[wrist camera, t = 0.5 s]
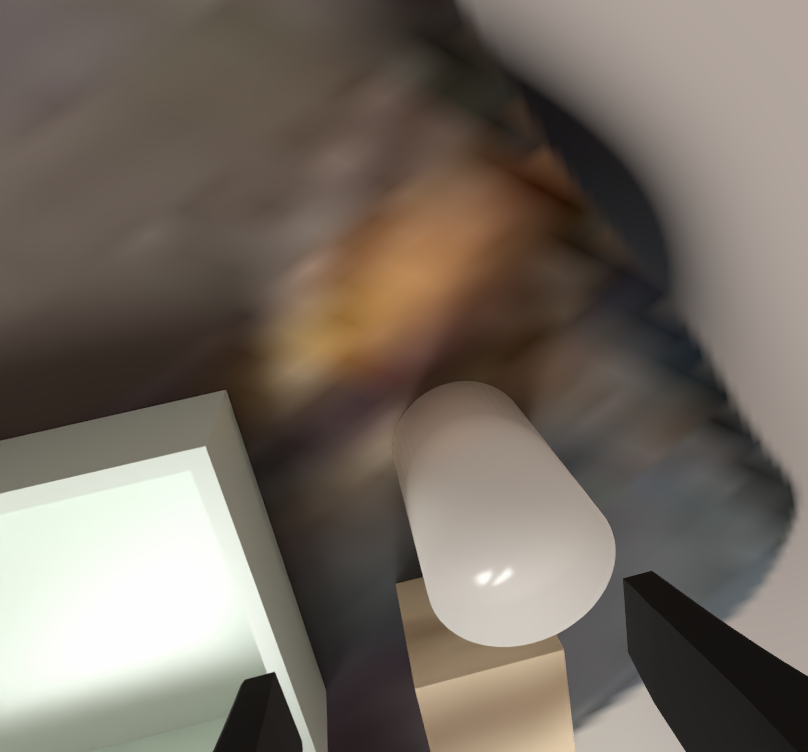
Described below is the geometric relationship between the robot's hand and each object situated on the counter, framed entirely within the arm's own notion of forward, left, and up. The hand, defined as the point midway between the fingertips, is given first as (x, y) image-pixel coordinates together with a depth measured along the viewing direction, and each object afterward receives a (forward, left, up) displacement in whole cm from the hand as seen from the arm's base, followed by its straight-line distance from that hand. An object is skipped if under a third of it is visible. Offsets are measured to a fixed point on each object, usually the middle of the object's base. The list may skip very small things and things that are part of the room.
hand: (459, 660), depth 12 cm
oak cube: (-9, -1, -10) cm, 14 cm away
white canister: (-1, -2, -10) cm, 10 cm away
